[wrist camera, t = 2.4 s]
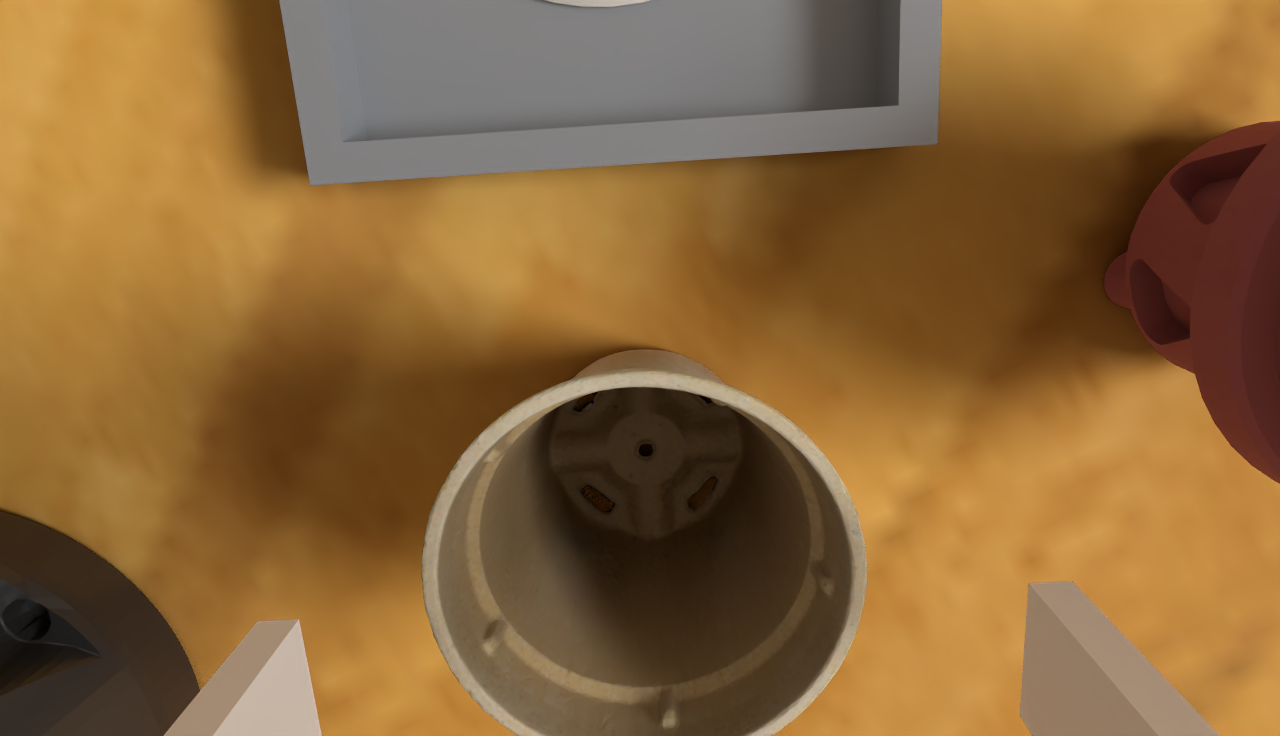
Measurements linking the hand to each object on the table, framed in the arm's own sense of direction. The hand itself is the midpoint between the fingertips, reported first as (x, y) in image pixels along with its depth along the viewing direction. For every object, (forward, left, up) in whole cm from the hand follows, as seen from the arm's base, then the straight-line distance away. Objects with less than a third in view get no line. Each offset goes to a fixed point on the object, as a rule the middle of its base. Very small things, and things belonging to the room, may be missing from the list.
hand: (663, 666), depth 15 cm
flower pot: (0, 0, -11) cm, 11 cm away
